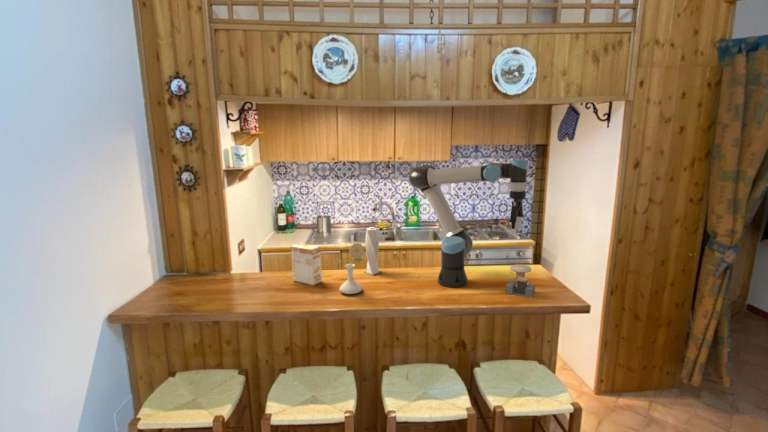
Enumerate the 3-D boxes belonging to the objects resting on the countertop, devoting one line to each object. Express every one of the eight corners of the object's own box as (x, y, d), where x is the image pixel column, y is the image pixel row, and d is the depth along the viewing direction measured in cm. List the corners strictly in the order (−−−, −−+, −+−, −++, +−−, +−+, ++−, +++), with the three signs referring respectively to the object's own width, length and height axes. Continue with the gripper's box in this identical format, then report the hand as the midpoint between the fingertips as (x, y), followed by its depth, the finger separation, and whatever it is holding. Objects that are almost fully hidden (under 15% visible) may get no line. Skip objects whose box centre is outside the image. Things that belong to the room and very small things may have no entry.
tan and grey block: (516, 293, 198) (517, 279, 196) (518, 290, 201) (518, 276, 200) (525, 294, 196) (526, 280, 194) (527, 291, 199) (527, 277, 198)
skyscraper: (383, 272, 232) (382, 224, 226) (373, 276, 226) (372, 226, 220) (372, 269, 237) (371, 222, 232) (362, 273, 232) (361, 224, 226)
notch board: (505, 293, 199) (506, 285, 198) (509, 288, 206) (509, 280, 205) (531, 297, 193) (532, 289, 192) (534, 292, 200) (535, 284, 199)
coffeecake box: (322, 281, 219) (320, 246, 215) (313, 285, 213) (311, 249, 210) (301, 276, 227) (299, 242, 223) (292, 280, 221) (290, 245, 217)
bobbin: (507, 287, 207) (508, 269, 205) (511, 280, 216) (512, 263, 214) (528, 290, 202) (529, 271, 201) (531, 283, 211) (532, 266, 209)
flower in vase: (339, 297, 198) (337, 246, 193) (338, 288, 209) (337, 240, 204) (366, 295, 200) (365, 245, 195) (364, 286, 211) (363, 239, 206)
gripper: (520, 194, 193) (518, 238, 197) (530, 187, 214) (527, 227, 218) (504, 193, 196) (502, 236, 200) (515, 187, 218) (513, 226, 222)
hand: (515, 231), depth 209 cm, fingers open, 13 cm apart
